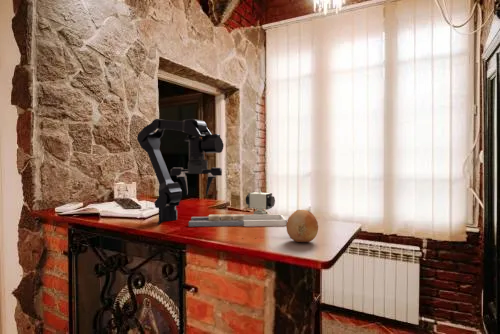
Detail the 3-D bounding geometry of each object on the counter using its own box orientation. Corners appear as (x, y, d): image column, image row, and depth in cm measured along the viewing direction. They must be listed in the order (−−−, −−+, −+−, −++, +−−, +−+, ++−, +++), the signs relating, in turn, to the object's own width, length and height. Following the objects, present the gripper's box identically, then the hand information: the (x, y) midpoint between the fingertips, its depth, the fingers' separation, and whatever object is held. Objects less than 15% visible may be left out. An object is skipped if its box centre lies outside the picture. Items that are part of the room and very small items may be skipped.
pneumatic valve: (270, 221, 126) (270, 192, 125) (245, 218, 131) (245, 190, 131) (275, 218, 130) (276, 190, 130) (251, 216, 136) (251, 189, 135)
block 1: (208, 224, 115) (208, 216, 115) (209, 222, 119) (209, 214, 119) (219, 224, 116) (219, 216, 116) (219, 222, 119) (219, 214, 119)
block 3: (232, 223, 116) (232, 216, 116) (232, 221, 120) (232, 214, 120) (243, 223, 116) (243, 215, 116) (242, 221, 120) (242, 214, 120)
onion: (288, 246, 91) (288, 213, 90) (284, 237, 100) (284, 207, 100) (321, 246, 91) (321, 213, 90) (314, 237, 101) (314, 207, 100)
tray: (243, 228, 112) (244, 220, 112) (242, 222, 124) (242, 214, 124) (286, 228, 114) (286, 220, 113) (281, 221, 125) (281, 214, 125)
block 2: (220, 224, 116) (220, 216, 116) (220, 222, 119) (220, 214, 119) (231, 224, 116) (231, 216, 116) (231, 221, 120) (231, 214, 119)
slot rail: (188, 229, 112) (188, 222, 112) (191, 223, 122) (191, 216, 121) (243, 228, 113) (243, 221, 113) (242, 222, 123) (242, 216, 123)
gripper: (167, 152, 107) (167, 197, 108) (221, 153, 109) (221, 197, 109) (172, 153, 118) (173, 193, 119) (221, 153, 120) (221, 193, 120)
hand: (196, 194), depth 116 cm, fingers open, 7 cm apart
